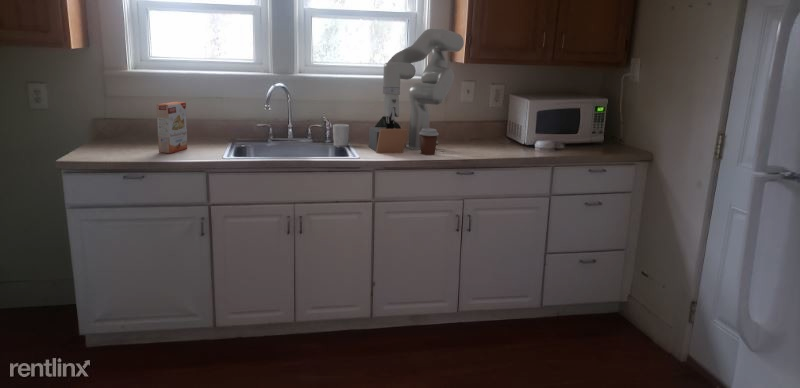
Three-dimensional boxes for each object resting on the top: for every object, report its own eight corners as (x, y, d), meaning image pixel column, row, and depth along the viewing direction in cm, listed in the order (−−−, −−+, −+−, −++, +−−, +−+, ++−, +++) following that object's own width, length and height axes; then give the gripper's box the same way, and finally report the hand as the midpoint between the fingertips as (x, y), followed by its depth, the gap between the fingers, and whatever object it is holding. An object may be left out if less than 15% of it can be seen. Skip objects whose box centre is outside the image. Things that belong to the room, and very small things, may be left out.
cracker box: (171, 154, 256) (168, 104, 251) (158, 153, 257) (155, 104, 252) (188, 148, 269) (186, 101, 264) (176, 147, 270) (173, 101, 265)
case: (392, 147, 292) (393, 127, 290) (401, 153, 279) (402, 131, 277) (368, 148, 289) (369, 127, 286) (376, 153, 276) (377, 131, 273)
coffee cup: (429, 157, 271) (430, 131, 268) (413, 154, 277) (415, 128, 274) (441, 155, 278) (443, 129, 275) (426, 152, 283) (427, 127, 280)
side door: (402, 151, 279) (406, 128, 271) (402, 152, 278) (407, 129, 270) (376, 151, 275) (380, 128, 267) (376, 152, 274) (380, 130, 266)
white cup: (329, 145, 291) (329, 125, 288) (338, 143, 298) (338, 123, 295) (343, 147, 287) (343, 126, 285) (351, 145, 294) (352, 125, 292)
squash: (408, 132, 306) (390, 109, 303) (405, 138, 291) (386, 114, 289) (387, 149, 309) (368, 127, 307) (383, 156, 295) (364, 132, 293)
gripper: (404, 92, 261) (402, 134, 265) (394, 89, 274) (393, 129, 279) (387, 92, 258) (385, 134, 263) (378, 89, 272) (377, 129, 277)
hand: (389, 132), depth 271 cm, fingers closed
